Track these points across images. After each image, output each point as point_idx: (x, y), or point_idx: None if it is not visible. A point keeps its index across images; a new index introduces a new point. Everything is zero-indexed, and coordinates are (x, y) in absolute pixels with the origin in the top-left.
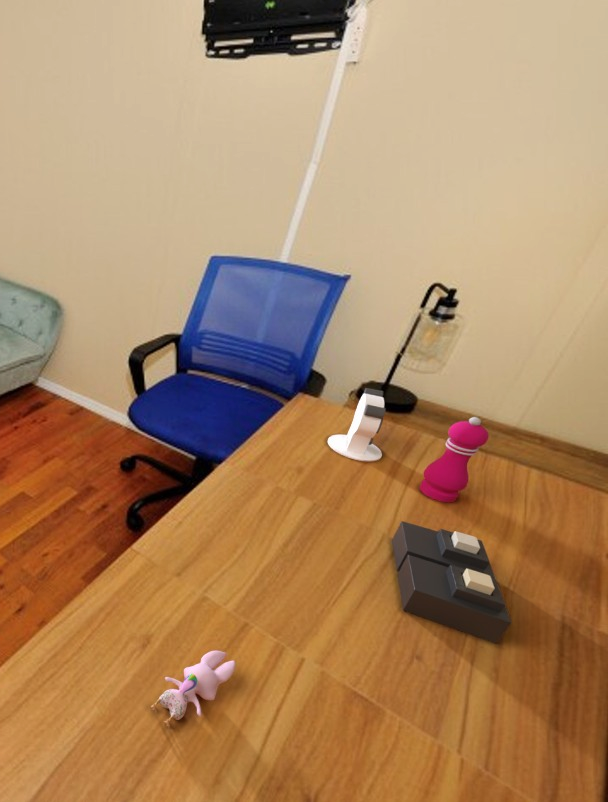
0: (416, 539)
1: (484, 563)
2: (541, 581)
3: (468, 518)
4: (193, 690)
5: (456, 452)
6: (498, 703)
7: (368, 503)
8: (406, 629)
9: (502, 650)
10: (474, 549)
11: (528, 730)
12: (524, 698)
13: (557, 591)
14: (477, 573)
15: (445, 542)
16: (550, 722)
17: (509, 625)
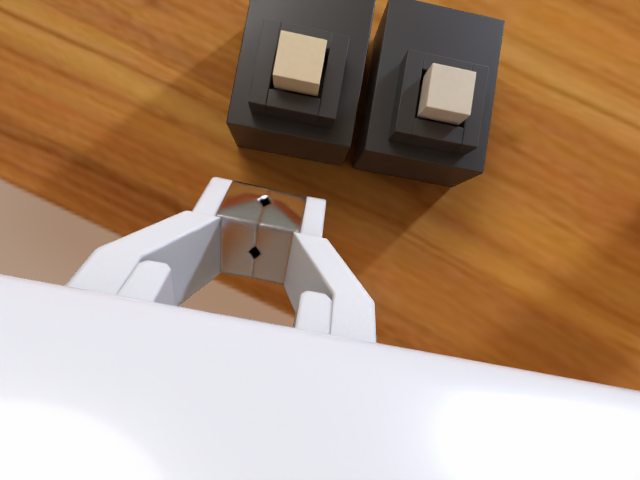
0: (442, 29)
1: (394, 127)
2: (452, 303)
3: (615, 243)
4: None
5: None
6: (96, 94)
7: (585, 50)
8: (215, 4)
9: (225, 151)
10: (423, 102)
11: (56, 118)
12: (123, 140)
13: (433, 320)
14: (316, 57)
15: (434, 57)
16: (86, 159)
17: (228, 126)
